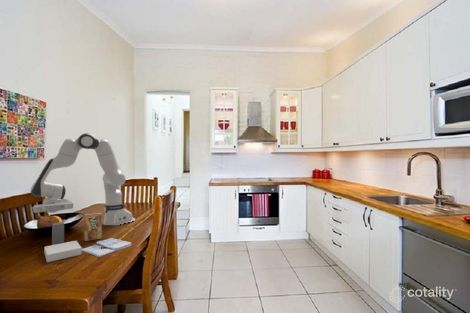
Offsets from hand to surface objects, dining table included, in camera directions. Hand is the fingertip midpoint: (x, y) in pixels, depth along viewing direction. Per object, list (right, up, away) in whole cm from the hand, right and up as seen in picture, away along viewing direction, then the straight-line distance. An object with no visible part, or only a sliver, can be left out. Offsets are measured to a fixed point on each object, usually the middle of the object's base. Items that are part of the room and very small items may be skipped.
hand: (55, 209), depth 147 cm
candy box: (+23, -18, 0) cm, 30 cm away
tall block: (+9, -18, -10) cm, 22 cm away
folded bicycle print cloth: (+38, -19, -14) cm, 45 cm away
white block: (+21, -18, -23) cm, 36 cm away
